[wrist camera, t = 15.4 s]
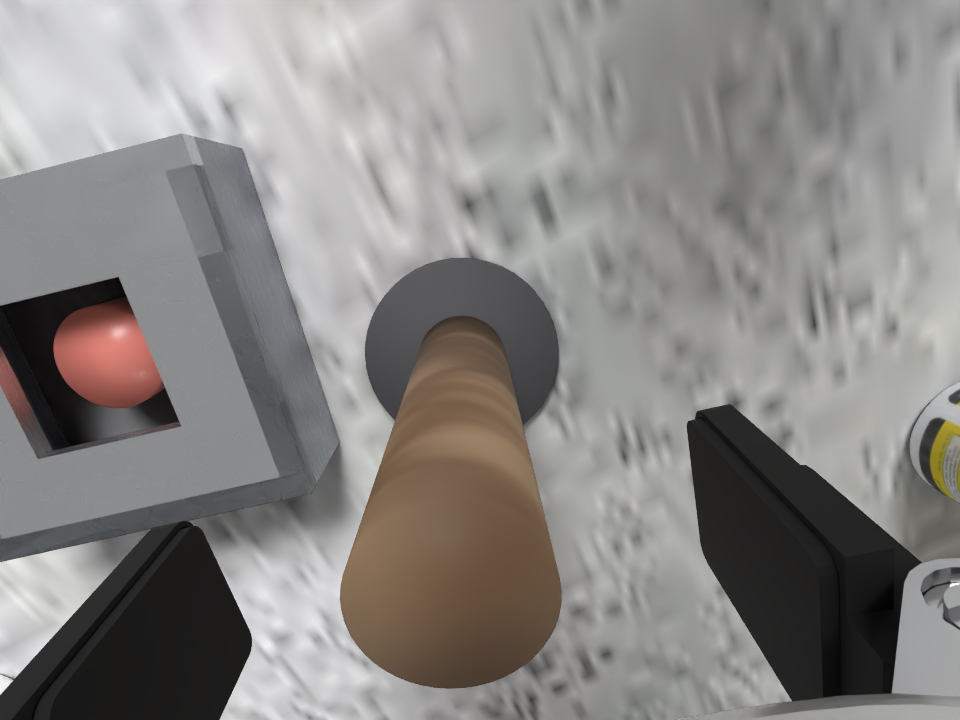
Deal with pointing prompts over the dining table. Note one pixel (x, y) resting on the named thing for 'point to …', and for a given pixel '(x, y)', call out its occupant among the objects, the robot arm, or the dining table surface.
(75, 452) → the grey square holed block
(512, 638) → the tan wooden rod
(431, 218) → the dining table surface
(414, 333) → the coaster
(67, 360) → the pink rounded dome
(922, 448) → the supplement bottle
